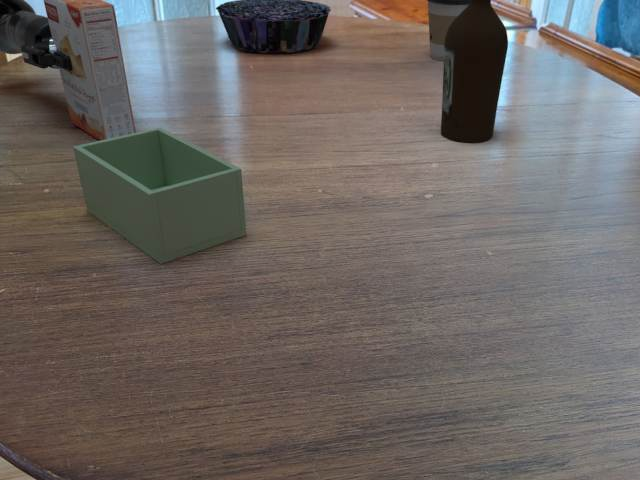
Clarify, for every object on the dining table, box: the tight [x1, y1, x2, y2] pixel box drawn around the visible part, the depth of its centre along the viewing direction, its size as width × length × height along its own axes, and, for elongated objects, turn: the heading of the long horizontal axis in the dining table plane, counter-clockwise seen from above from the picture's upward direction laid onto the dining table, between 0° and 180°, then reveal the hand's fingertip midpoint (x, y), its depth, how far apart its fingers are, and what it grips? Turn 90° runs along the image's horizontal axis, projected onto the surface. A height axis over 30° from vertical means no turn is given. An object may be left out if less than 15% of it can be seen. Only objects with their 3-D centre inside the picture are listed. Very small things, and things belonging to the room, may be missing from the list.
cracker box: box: [43, 0, 137, 141], centre depth 118 cm, size 14×6×21 cm, turn 42°
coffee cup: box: [426, 0, 471, 62], centre depth 170 cm, size 11×11×15 cm
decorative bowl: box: [215, 0, 332, 54], centre depth 176 cm, size 26×28×10 cm
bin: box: [72, 126, 248, 265], centre depth 94 cm, size 13×20×9 cm, turn 43°
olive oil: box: [440, 0, 509, 143], centre depth 123 cm, size 11×11×25 cm
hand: (89, 61), depth 117 cm, fingers closed on cracker box, 6 cm apart
